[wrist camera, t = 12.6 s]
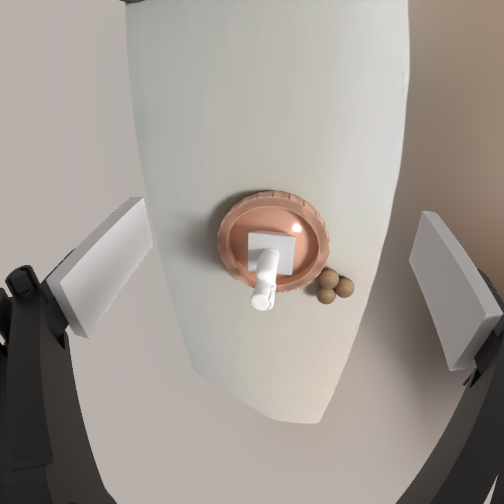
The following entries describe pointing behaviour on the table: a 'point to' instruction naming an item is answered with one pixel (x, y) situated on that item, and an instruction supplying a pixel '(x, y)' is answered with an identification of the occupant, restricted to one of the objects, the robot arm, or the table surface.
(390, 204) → the table surface
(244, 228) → the dish
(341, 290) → the wooden beads
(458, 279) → the robot arm
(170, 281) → the table surface
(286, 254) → the figurine
